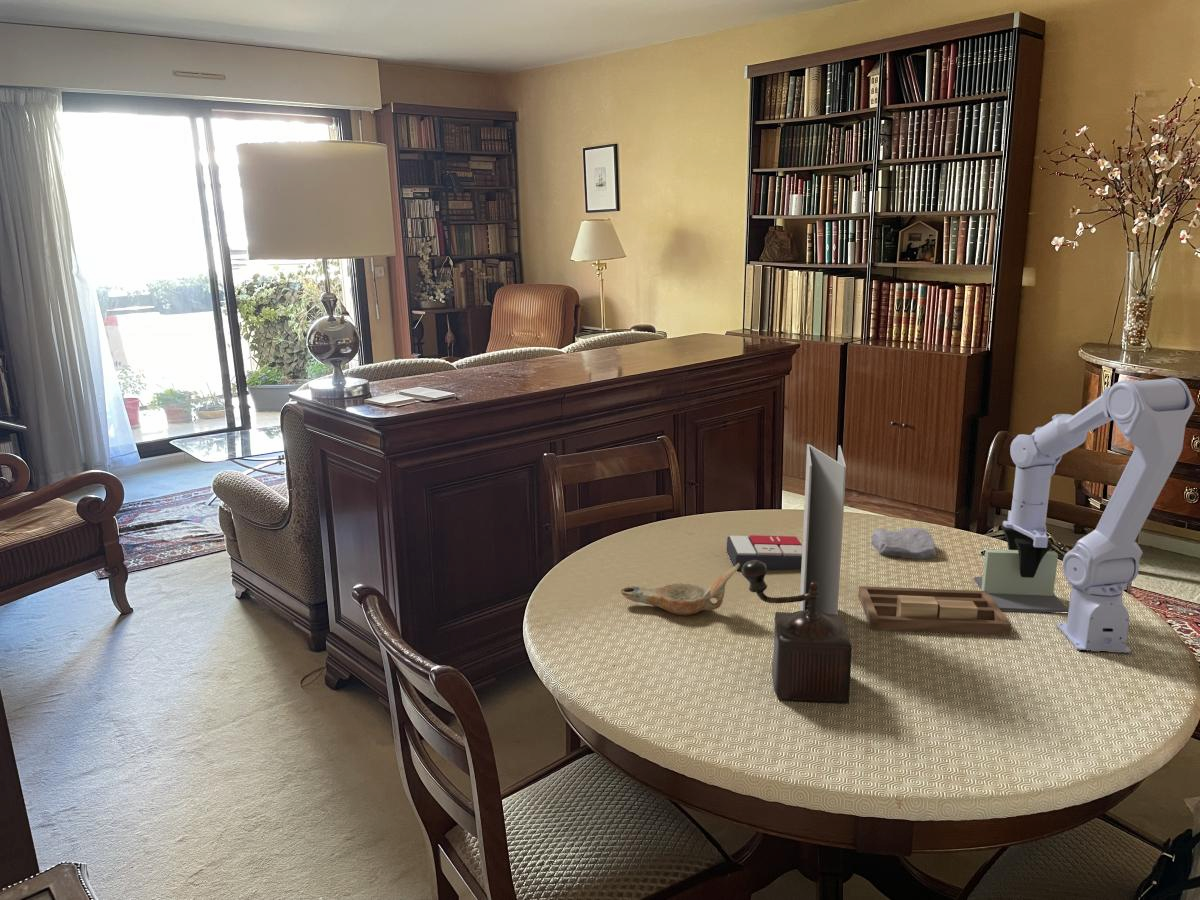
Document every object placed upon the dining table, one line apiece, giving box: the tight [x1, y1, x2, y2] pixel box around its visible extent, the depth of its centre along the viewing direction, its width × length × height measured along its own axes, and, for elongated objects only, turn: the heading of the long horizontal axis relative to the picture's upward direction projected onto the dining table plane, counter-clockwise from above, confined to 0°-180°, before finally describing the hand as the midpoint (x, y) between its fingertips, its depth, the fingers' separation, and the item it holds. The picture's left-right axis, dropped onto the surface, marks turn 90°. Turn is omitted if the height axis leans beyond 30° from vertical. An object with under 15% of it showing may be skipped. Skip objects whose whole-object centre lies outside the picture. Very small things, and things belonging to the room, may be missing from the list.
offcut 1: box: [896, 595, 938, 618], centre depth 147 cm, size 3×6×4 cm, turn 82°
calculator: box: [726, 534, 803, 571], centre depth 176 cm, size 11×4×15 cm
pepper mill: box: [741, 560, 853, 704], centre depth 126 cm, size 16×11×18 cm
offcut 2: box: [936, 600, 978, 620], centre depth 146 cm, size 3×6×4 cm, turn 82°
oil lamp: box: [620, 563, 740, 616], centre depth 153 cm, size 9×21×10 cm, turn 74°
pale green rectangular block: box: [980, 548, 1059, 596], centre depth 156 cm, size 2×12×8 cm, turn 82°
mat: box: [973, 576, 1069, 613], centre depth 157 cm, size 14×12×1 cm
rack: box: [858, 585, 1012, 636], centre depth 150 cm, size 14×22×2 cm, turn 82°
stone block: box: [871, 527, 937, 560], centre depth 180 cm, size 12×5×10 cm
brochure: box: [799, 443, 847, 615], centre depth 144 cm, size 14×6×30 cm, turn 168°
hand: (1022, 570), depth 156 cm, fingers open, 5 cm apart
